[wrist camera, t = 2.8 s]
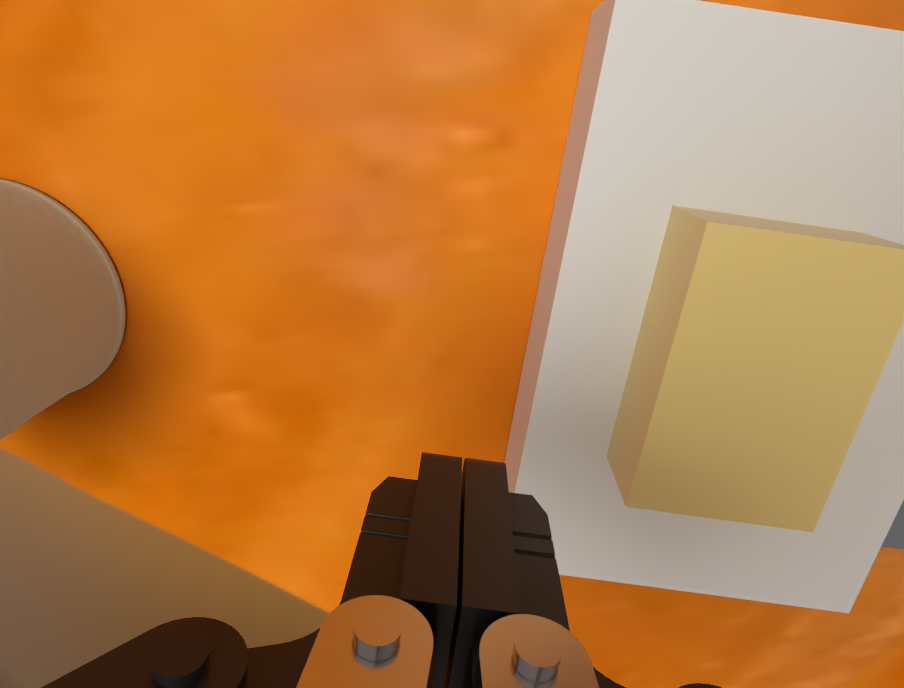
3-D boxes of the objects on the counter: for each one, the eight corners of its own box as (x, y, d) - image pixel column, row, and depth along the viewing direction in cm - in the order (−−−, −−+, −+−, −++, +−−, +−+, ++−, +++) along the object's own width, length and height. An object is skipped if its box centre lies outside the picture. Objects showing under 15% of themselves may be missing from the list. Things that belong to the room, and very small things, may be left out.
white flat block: (591, 11, 20) (617, -12, 17) (997, 72, 21) (1113, 62, 17) (496, 504, 27) (499, 566, 24) (798, 546, 28) (849, 613, 24)
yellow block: (672, 205, 19) (707, 221, 16) (863, 232, 19) (931, 253, 16) (606, 456, 22) (625, 506, 19) (769, 478, 22) (812, 532, 19)
